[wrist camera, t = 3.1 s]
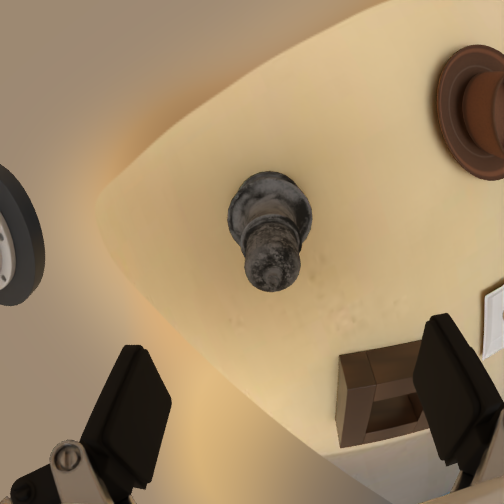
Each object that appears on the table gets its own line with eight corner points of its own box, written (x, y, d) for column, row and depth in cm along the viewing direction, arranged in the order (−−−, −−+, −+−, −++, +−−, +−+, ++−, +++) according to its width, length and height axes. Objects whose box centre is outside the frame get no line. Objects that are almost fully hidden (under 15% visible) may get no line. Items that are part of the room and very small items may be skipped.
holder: (335, 418, 38) (339, 448, 33) (339, 355, 32) (347, 389, 28) (421, 400, 37) (432, 427, 32) (443, 334, 31) (461, 363, 26)
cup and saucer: (481, 26, 16) (523, 19, 11) (534, 132, 20) (575, 145, 14) (401, 89, 20) (439, 88, 15) (468, 200, 24) (507, 225, 18)
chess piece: (216, 205, 25) (183, 286, 14) (268, 151, 23) (273, 196, 12) (269, 251, 27) (272, 352, 16) (321, 203, 25) (362, 284, 14)
